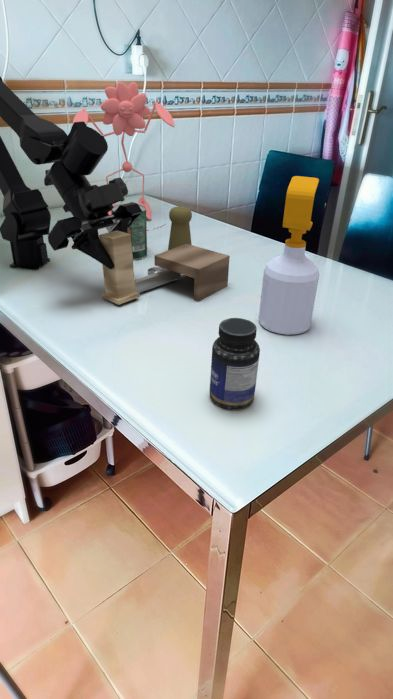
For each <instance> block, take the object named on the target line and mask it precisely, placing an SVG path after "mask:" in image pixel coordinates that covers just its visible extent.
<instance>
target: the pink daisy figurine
mask: <svg viewBox="0 0 393 699" xmlns="http://www.w3.org/2000/svg"><path fill="white" fill-rule="evenodd" d="M104 93H105V95H106V97H107V99H105V100H104V101H103V102H102V103H101V105H100V109H101V111H103V112H104V114H103V115H102V123H103V124H104V125H107V126H108V125H111V124H112V130H113V131H111V132H108V133H103V132H102V130H101V129H100V127H99V126H98V125H97V123H96V122H95V121H94V120H93V119H92V117H91V116H90V114H89V113H88V111H87V110H86V108H84V107H82V109H81V110H79V111H78V112H77V113H76V115H74V117H73V120H72V125H73V124H74V122H82V121H84V122H85V124H86V125H87V126H88V123H89V121H90V122H91V123H92V124H93V126H94V127H95V128H96V129H97V130H96V131H97V132H98V133H100V135H102V136H104V138H105V137H108V136H110V135H114V134H115V136H120V135H122V136H121V143H120V145H121V147H122V150H123V154H124V158H125V161H124V162H123V163H122V165H121V169H119V170H117V171H114V172H113V173H111V174H107V175H106V176H105V180H106V184H109V180H108V178H109V177H111V176H113V175H115V174H117V173H119V172H122V171H123V172H124V173H130V172H132V171H134V172H135V173H137V174H139V175H140V176H142V192H141V193H142V197H139V198H138V203H137V204H139V205H143V206H145V207H146V219H147V220H149V221H151V220H152V209H151V206H150V204H149V202H148V201H147V200H146V199H145V198H144V196H145V194H144V192H145V175H144V174H143V173H141V172H139V171H138V170H137V169H135V168H133V166H132V163H131V162H129V160H128V157H127V153H126V148H125V144H124V139H125V134H126V135H127V136H129V137H133V136H135V133H142V134H146V132H147V129H148V126H149V125H150V122H151V119H152V116H153V115H154V112H155V111H156V113H157V115H158V117H159V118H160V120H162V121H163V122H164V123H165V124H167V125H169V127H172V128H175V127H176V126H175V122H174V118H173V116H172V115H171V113H170V112H169V110H167V108H166V107H165V106H163V105H162V104H160V103H158V102H156V101H155V102H154V103H153V107H152V110H151V109H150V107H149V106H147V105H146V102H147V94H146V93H139V87H138V84H137V82H135V81H131V82H130V83H129V85H127V84H126V83H124V82H123V81H118V82H117V83H116V87H115V86H107V87H106V88H105V89H104ZM148 115H149V117H148V119H147V121H146V120H144V118H146V117H147V116H148ZM142 129H144V130H142ZM112 205H113V206H115V205H117V204H116V203H114V204H112ZM108 214H109V215H111V211H109V212H108ZM163 226H165V224H163V225H161V226H159V227H160V228H162V227H163ZM159 227H155V228H154V230H156V228H157V229H158V228H159ZM160 228H159V229H160Z"/></svg>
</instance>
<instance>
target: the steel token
mask: <svg viewBox="0 0 393 699" xmlns="http://www.w3.org/2000/svg"><path fill="white" fill-rule="evenodd" d="M162 270H165V268H161V267H158V266H153V267H150V268H148V269H147V275H150V274H153V273H156V272H159V271H162Z"/></svg>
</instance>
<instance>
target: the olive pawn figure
mask: <svg viewBox="0 0 393 699" xmlns="http://www.w3.org/2000/svg"><path fill="white" fill-rule="evenodd" d="M168 217H169V220H170V221H171V224H170V231H169V232H170V233H169V237H168V238H169V240H168V245H167V246H168V247H167V251H168V250H171V249H173V248H176V247H179V246H181V245H184V244H190V245H192V236H191V235H192V234H191V226H190V222H191V221H192V218H193V212H192V210H191V209H190V207H186V206H183V205H182V206H174V207H172V208H171V209H170V210H169V213H168Z"/></svg>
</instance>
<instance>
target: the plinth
mask: <svg viewBox="0 0 393 699" xmlns="http://www.w3.org/2000/svg"><path fill="white" fill-rule="evenodd" d="M230 257H231V256H230V255H228V254H224V253H221V252H217V251H214V250H210V249H208V248H207V249H206V248H204V247H200V246H196V245H190V244H184V245H181V246H179V247H176V248H173V249H171V250H168V249H167V250H165V251H163V252H161V253H158V254H155V255H154V267H161V268H165V269H168V270H171V271H174V272H177V273H180V274H181V275H184V276H187V277H190V278H193V279H194V282H193V283H194V285H193V286H194V287H193V301H194V302H200V301H202V300H204V299H206V298H208V297H210V296H211V295H213V294H215V293H217V292H219V291H221V290H222V289H224V288H225V289H226V287H228V284H229V272H230V271H229V268H230Z"/></svg>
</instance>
